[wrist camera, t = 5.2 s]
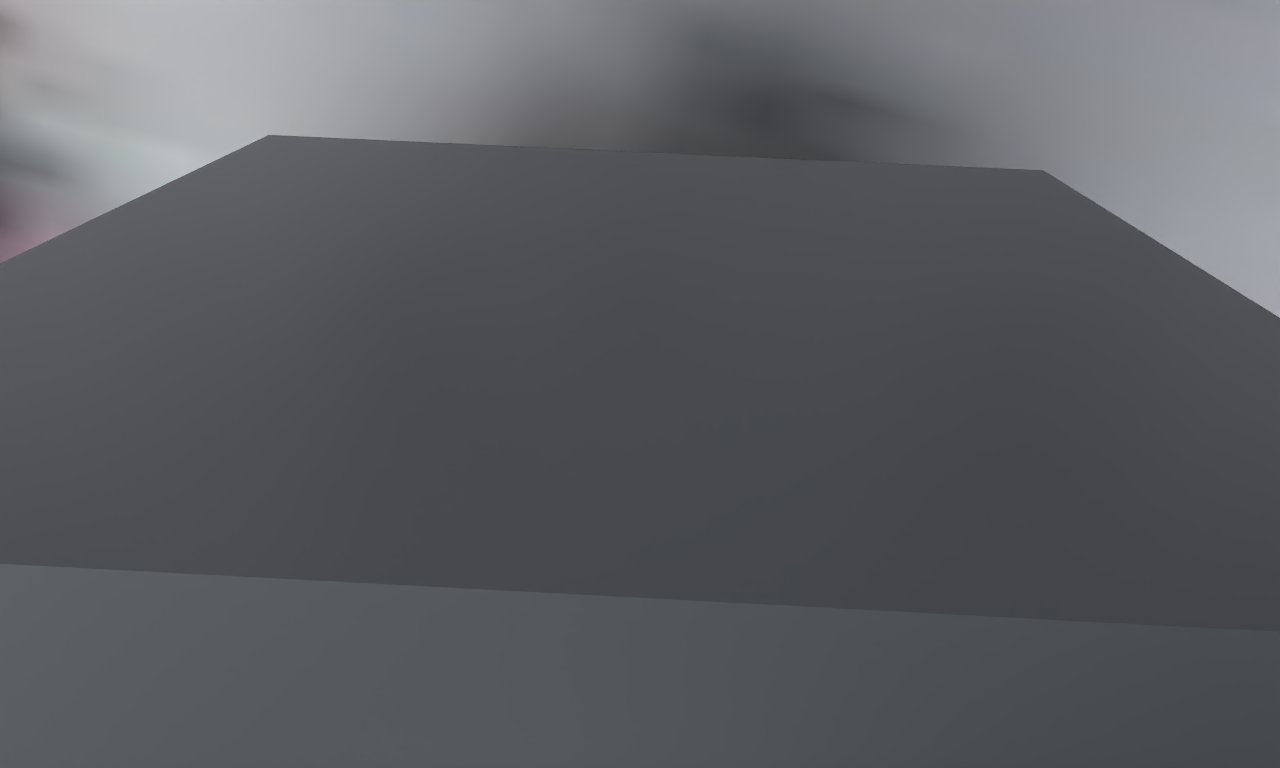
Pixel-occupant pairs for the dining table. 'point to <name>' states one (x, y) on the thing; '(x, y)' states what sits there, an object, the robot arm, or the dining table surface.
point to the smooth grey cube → (631, 472)
